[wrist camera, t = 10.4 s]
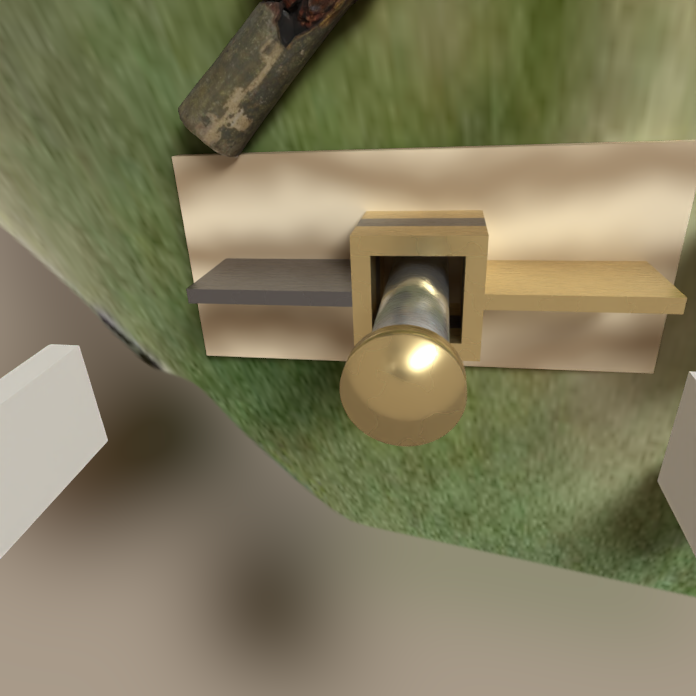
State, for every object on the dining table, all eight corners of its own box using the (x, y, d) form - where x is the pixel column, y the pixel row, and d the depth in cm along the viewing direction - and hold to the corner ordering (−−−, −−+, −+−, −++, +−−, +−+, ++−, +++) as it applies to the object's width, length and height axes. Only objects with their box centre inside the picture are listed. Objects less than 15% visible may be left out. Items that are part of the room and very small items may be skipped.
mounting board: (179, 154, 40) (171, 156, 39) (698, 139, 34) (707, 141, 33) (212, 349, 47) (206, 355, 45) (648, 365, 41) (653, 373, 39)
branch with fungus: (245, 156, 39) (214, 166, 34) (175, 83, 38) (132, 82, 33) (430, -63, 32) (424, -91, 27) (350, -163, 30) (329, -212, 25)
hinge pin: (383, 229, 38) (336, 334, 22) (460, 228, 37) (470, 338, 21) (384, 300, 41) (342, 442, 24) (456, 301, 40) (463, 449, 24)
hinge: (219, 212, 40) (176, 236, 34) (657, 208, 35) (702, 235, 28) (233, 312, 43) (197, 350, 37) (634, 322, 38) (669, 369, 32)
